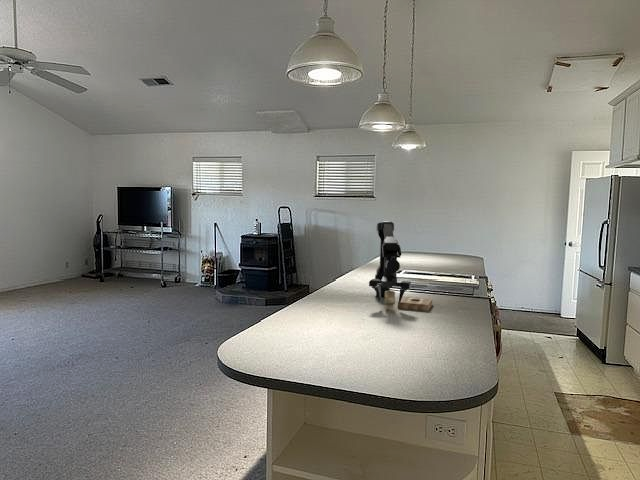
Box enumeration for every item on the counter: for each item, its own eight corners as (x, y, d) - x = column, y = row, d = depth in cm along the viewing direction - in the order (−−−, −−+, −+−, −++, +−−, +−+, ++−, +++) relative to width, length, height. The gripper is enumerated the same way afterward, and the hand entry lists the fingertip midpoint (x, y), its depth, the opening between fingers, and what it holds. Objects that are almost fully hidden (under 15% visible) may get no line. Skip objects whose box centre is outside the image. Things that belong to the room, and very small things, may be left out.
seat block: (397, 308, 212) (397, 301, 212) (403, 302, 225) (403, 296, 225) (427, 311, 207) (428, 304, 207) (432, 304, 220) (432, 298, 220)
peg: (383, 310, 208) (383, 292, 207) (385, 308, 212) (386, 290, 212) (393, 311, 206) (393, 293, 205) (395, 309, 211) (395, 291, 210)
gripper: (366, 270, 203) (365, 304, 205) (407, 272, 197) (406, 307, 198) (372, 266, 214) (371, 299, 215) (411, 269, 207) (411, 302, 208)
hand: (389, 302), depth 209 cm, fingers open, 9 cm apart
